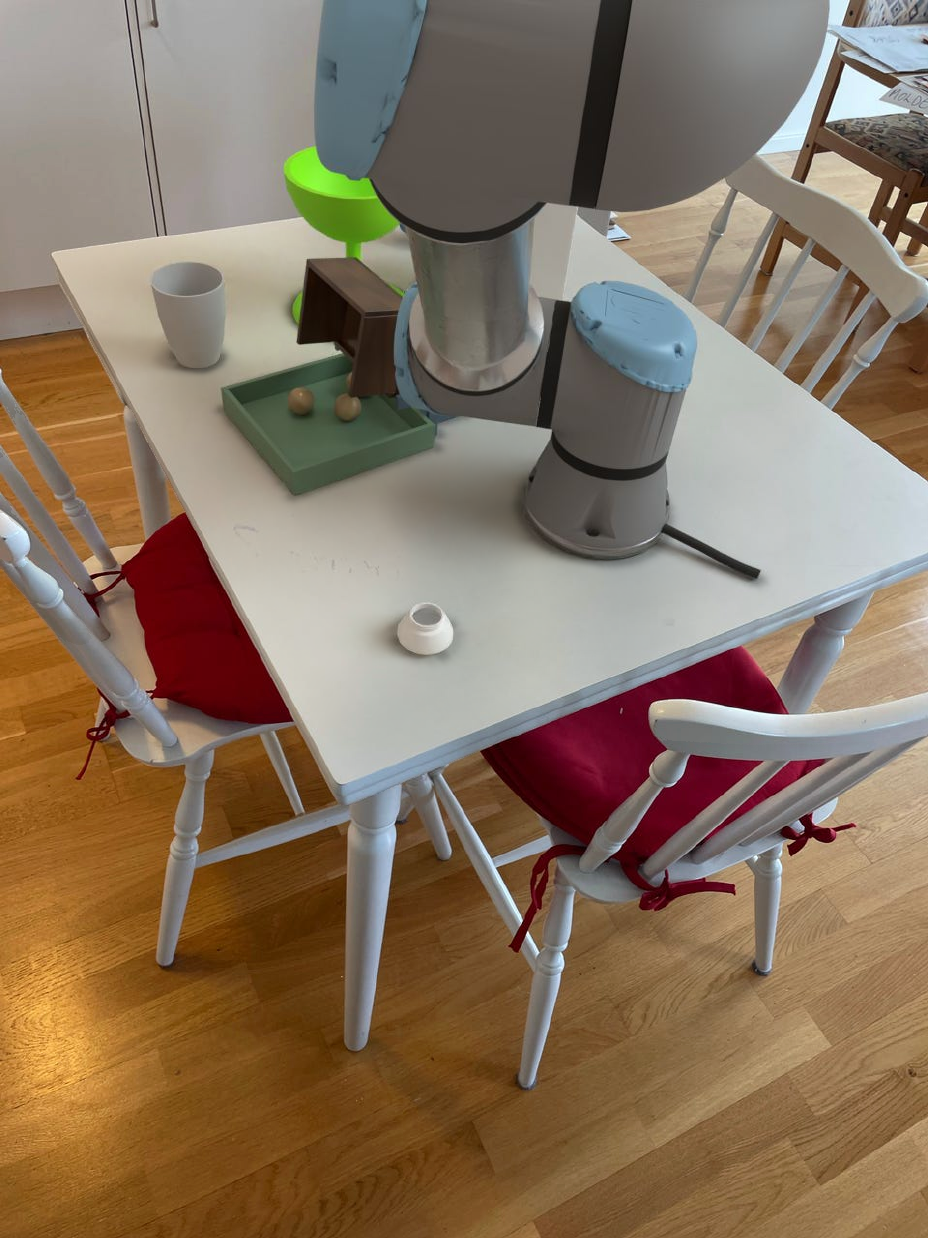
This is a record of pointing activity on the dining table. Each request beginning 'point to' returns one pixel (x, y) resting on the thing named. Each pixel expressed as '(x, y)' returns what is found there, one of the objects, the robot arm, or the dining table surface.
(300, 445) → the tray
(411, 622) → the lidless jar
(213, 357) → the cup
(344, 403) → the wooden ball
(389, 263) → the dining table surface
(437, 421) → the stand
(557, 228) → the milk
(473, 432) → the dining table surface
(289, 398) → the wooden ball
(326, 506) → the dining table surface
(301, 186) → the wineglass
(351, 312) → the brown wooden box
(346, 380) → the wooden ball
